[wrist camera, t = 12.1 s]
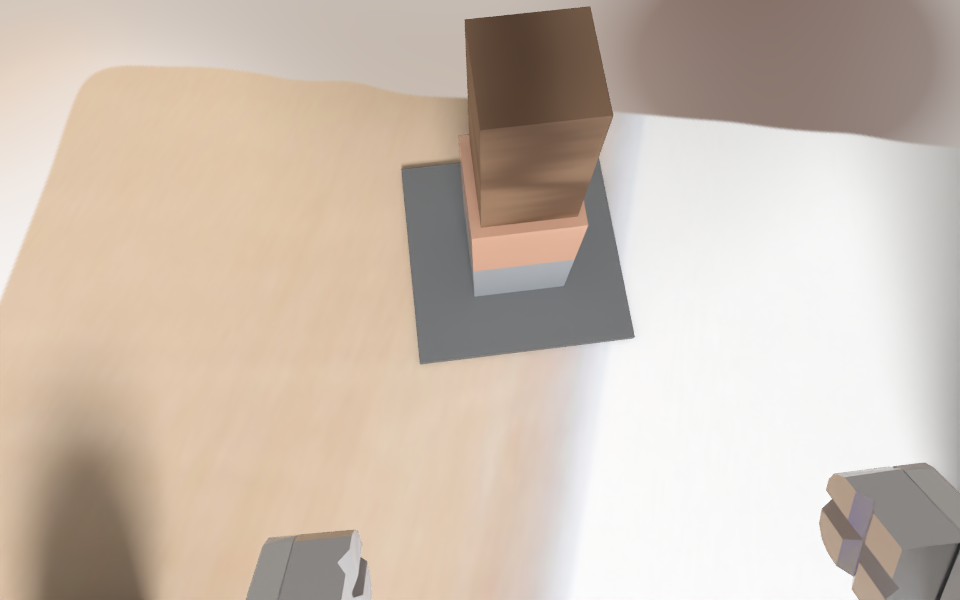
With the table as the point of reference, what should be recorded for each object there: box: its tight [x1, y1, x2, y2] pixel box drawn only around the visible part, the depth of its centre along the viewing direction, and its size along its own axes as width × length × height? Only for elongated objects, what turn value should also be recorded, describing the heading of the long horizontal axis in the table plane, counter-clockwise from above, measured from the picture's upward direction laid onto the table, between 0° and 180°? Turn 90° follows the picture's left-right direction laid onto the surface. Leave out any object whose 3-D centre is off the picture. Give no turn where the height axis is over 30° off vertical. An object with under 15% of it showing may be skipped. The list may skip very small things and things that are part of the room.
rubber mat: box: [401, 158, 635, 364], centre depth 42 cm, size 14×14×1 cm
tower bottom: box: [462, 187, 574, 297], centre depth 39 cm, size 6×6×5 cm
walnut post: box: [465, 7, 613, 228], centre depth 28 cm, size 5×5×9 cm
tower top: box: [458, 134, 588, 272], centre depth 35 cm, size 6×6×5 cm
